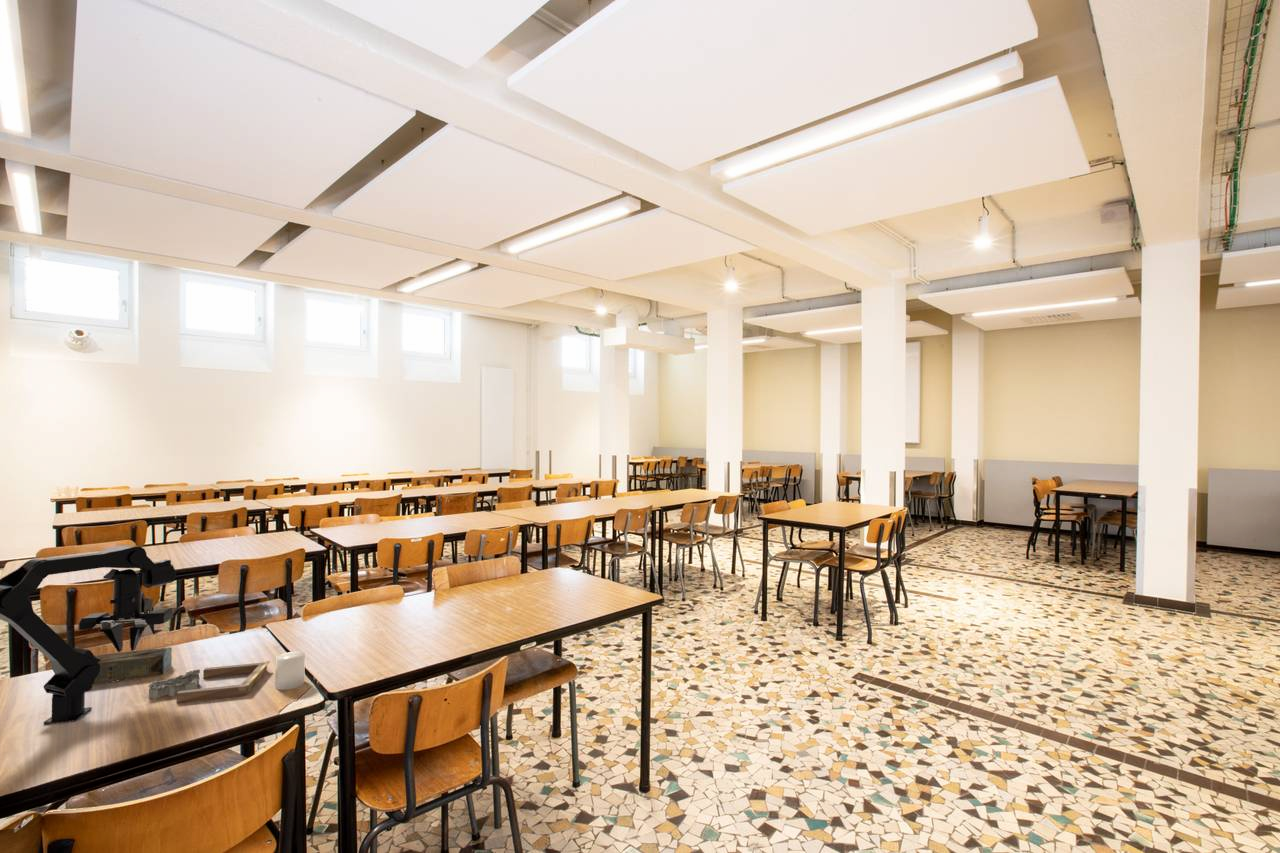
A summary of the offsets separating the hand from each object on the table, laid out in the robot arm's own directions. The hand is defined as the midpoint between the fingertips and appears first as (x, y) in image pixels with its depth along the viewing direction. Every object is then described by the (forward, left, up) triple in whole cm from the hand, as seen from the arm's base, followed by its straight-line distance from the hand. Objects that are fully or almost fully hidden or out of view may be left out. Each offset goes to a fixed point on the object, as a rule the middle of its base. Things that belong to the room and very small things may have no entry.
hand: (126, 650), depth 154 cm
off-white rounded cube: (-4, -40, -12) cm, 42 cm away
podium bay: (0, -23, -12) cm, 26 cm away
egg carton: (0, -11, -12) cm, 17 cm away
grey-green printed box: (+15, +7, -12) cm, 21 cm away
